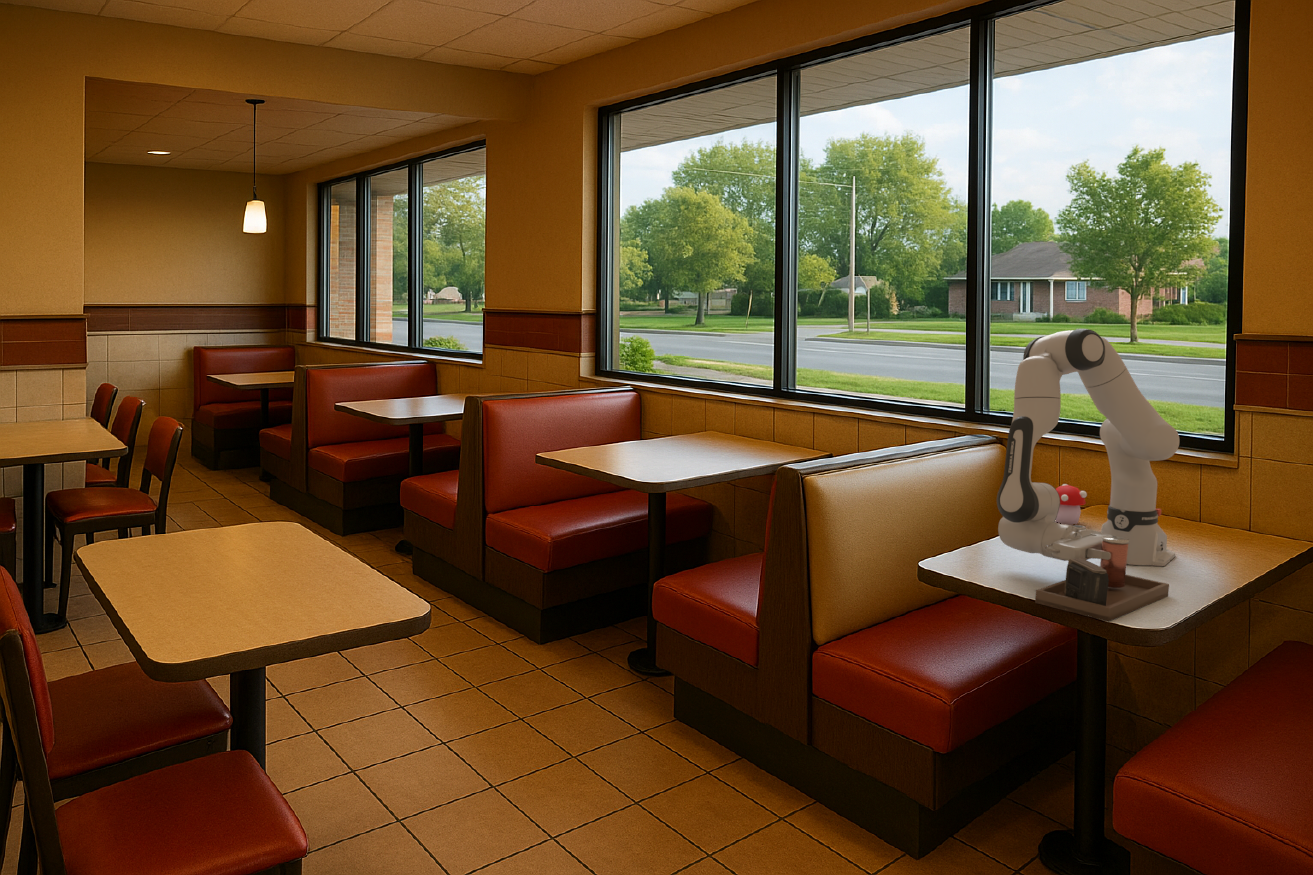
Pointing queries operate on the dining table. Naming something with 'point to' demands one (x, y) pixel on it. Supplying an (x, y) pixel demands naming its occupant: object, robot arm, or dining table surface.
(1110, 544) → the tin
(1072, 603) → the tray
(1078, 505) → the mushroom
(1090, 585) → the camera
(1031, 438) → the robot arm
